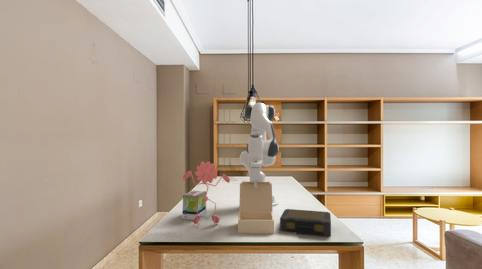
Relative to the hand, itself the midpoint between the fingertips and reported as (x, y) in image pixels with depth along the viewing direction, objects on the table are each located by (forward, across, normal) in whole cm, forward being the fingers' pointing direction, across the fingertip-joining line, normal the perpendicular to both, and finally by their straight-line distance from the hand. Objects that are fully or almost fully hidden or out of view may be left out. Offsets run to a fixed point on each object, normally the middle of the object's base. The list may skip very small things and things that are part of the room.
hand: (255, 187), depth 160 cm
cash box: (+21, +9, +27) cm, 35 cm away
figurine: (+20, +4, -28) cm, 34 cm away
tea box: (+20, -10, -37) cm, 44 cm away
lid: (+5, +1, 0) cm, 5 cm away
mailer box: (+20, +11, 0) cm, 23 cm away
